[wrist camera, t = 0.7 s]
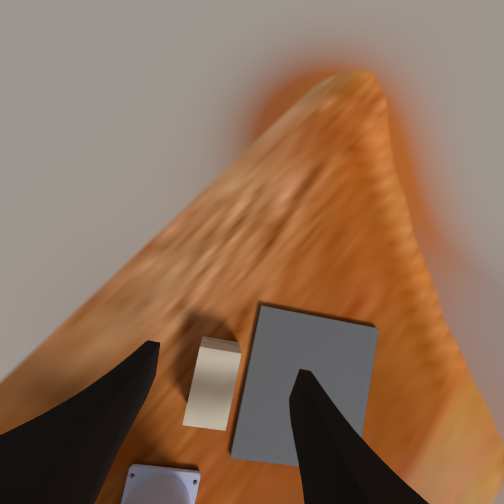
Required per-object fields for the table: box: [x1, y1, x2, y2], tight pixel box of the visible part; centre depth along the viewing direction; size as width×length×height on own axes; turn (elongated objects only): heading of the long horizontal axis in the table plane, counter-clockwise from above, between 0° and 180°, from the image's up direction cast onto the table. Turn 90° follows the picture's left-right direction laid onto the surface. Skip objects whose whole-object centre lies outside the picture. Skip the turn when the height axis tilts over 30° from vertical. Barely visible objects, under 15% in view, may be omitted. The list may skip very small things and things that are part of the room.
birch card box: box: [183, 336, 241, 431], centre depth 27 cm, size 8×4×4 cm, turn 168°
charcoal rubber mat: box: [230, 305, 379, 466], centre depth 30 cm, size 18×16×1 cm
